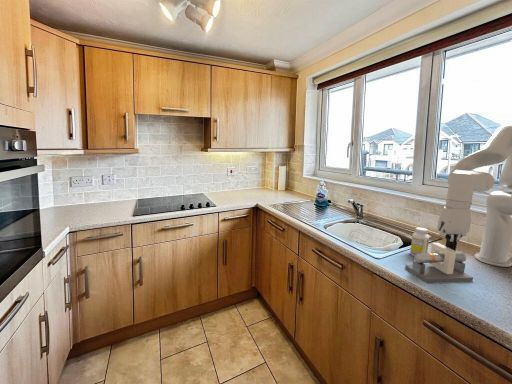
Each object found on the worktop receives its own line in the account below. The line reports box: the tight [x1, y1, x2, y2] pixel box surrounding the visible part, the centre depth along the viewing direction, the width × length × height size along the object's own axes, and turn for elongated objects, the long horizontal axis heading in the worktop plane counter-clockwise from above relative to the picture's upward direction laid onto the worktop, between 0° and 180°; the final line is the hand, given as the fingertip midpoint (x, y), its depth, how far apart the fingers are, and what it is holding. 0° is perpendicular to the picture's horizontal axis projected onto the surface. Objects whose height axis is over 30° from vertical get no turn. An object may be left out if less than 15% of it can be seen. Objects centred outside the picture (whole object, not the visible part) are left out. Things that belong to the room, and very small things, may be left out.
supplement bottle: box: [410, 226, 430, 257], centre depth 123 cm, size 7×7×13 cm
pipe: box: [412, 252, 467, 274], centre depth 105 cm, size 19×4×7 cm, turn 97°
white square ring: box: [428, 242, 457, 274], centre depth 105 cm, size 2×9×9 cm, turn 6°
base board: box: [404, 263, 474, 284], centre depth 106 cm, size 19×12×2 cm, turn 97°
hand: (450, 250), depth 105 cm, fingers closed
